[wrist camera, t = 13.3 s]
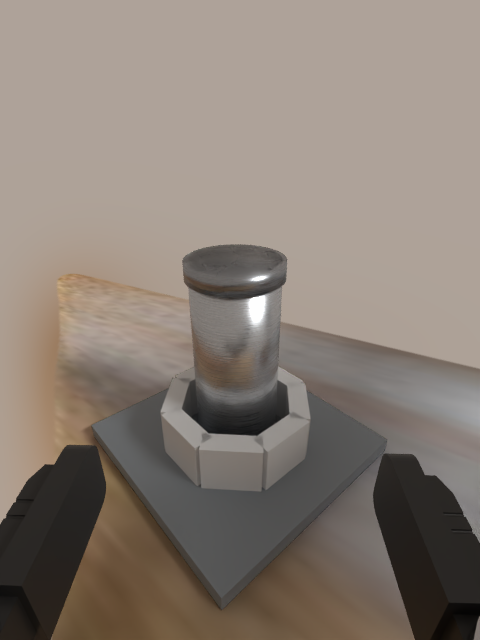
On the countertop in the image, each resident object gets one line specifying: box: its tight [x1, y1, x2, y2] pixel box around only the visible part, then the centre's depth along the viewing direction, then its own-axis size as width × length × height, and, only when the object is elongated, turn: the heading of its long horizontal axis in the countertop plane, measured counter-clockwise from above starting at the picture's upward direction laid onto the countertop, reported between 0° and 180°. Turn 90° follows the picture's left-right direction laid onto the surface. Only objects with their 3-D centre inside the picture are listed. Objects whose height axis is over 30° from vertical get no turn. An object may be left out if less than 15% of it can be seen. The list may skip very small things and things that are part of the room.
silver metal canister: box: [183, 245, 287, 436], centre depth 22 cm, size 5×5×12 cm
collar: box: [91, 366, 387, 610], centre depth 25 cm, size 14×14×4 cm
